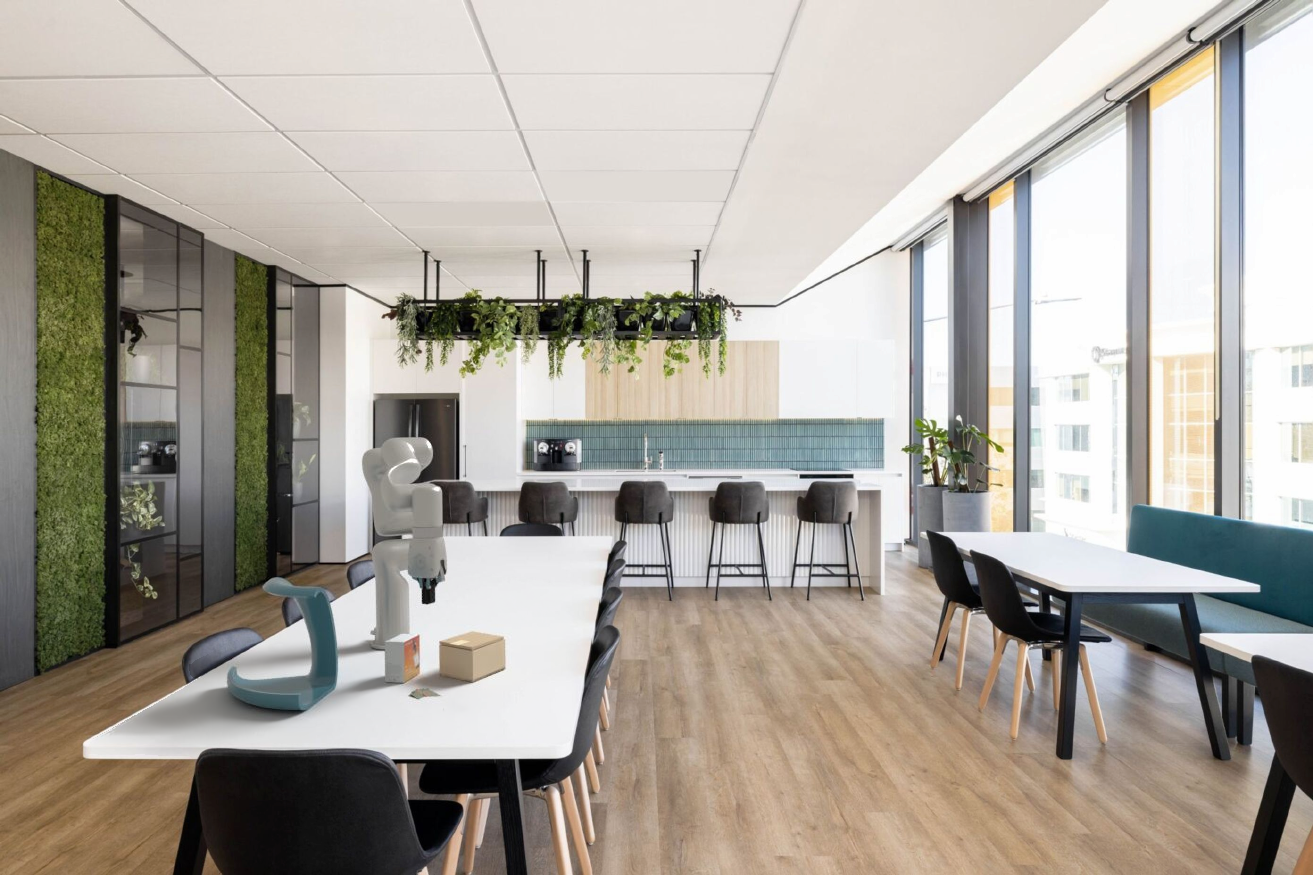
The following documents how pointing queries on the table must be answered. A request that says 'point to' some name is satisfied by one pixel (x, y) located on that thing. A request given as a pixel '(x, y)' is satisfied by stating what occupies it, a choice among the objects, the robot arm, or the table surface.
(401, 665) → the small box
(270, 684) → the headphone stand
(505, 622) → the table surface
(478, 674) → the carton
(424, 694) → the map
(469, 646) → the lid
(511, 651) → the table surface
